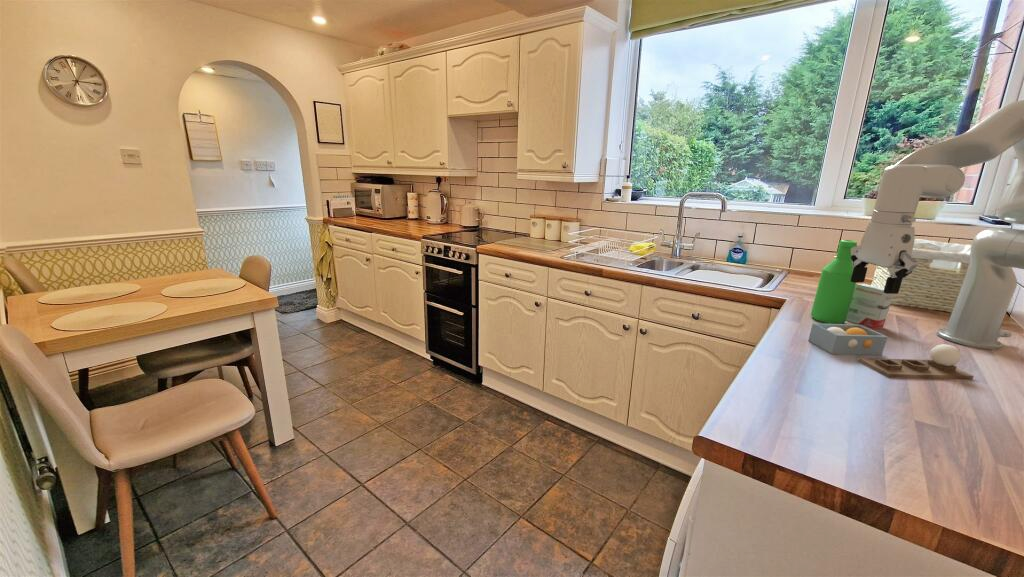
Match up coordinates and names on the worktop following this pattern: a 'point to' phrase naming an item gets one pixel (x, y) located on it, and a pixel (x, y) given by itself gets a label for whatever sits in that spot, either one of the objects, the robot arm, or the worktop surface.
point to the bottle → (835, 287)
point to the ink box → (869, 306)
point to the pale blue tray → (847, 340)
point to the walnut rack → (914, 368)
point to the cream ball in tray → (837, 330)
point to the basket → (931, 276)
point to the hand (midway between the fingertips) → (873, 287)
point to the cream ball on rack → (945, 355)
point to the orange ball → (855, 331)
